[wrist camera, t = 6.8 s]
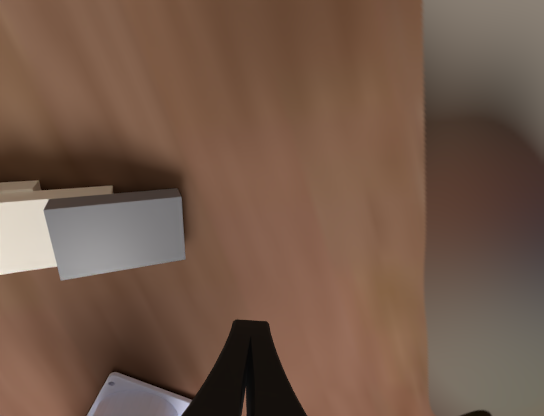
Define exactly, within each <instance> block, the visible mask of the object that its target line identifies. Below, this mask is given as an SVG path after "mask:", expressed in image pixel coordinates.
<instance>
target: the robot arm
mask: <svg viewBox="0 0 544 416" xmlns="http://www.w3.org/2000/svg"><path fill="white" fill-rule="evenodd" d="M245 389H246V407H247V416H307V415H306V413H305V411H304V409H303V408H302V406H301V404H300V402H299V401H298V399H297V397H296V395H295V393H294V391H293V389H292V387H291V385H290V383H289V381H288V379H287V376H286V374H285V372H284V370H283V367H282V365H281V362H280V360H279V357H278V355H277V352H276V349H275V346H274V343H273V340H272V336H271V332H270V327H269V323H268V322H267V321H251V320H235V321H233V324H232V328H231V331H230V334H229V336H228V339H227V341H226V343H225V345H224V348H223V350H222V352H221V353H220V355H219V357H218V359H217V361H216V363H215V365H214V367H213V368H212V370H211V372H210V374H209V375H208V377H207V379H206V380H205V382H204V384H203V385H202V387H201V388H200V390H199V391H198V393H197V394H196V396H195V397H194V399H193V400H191V399H188V398H186V397H183V396H180V395H178V394H175V393H172V392H169V391H167V390H164V389H161V388H159V387H156V386H153V385H150V384H148V383H145V382H142V381H140V380H137V379H134V378H131V377H129V376H126V375H123V374H120V373H118V372H112V373H110V375H109V376H108V378H107V380H106V382H105V384H104V385H103V387H102V389H101V391H100V393H99V394H98V396H97V398H96V400H95V402H94V404H93V405H92V407H91V409H90V411H89V413H88V414H87V416H241V415H242V408H243V402H244V395H245Z"/></svg>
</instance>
